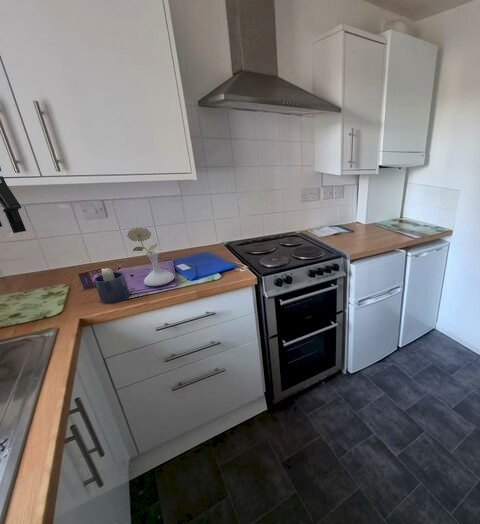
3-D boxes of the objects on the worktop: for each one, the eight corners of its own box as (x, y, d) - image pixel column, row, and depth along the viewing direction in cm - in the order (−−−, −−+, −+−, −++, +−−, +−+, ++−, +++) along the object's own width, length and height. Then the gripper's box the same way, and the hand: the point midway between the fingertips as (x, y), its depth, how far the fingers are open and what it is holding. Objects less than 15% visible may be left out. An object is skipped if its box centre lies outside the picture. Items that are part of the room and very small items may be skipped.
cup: (95, 303, 112) (87, 282, 109) (111, 292, 121) (104, 272, 117) (120, 303, 113) (113, 281, 109) (134, 291, 121) (128, 271, 118)
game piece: (105, 298, 114) (95, 271, 110) (112, 292, 118) (103, 266, 114) (117, 298, 115) (108, 271, 110) (125, 292, 119) (116, 266, 114)
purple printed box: (78, 273, 121) (105, 267, 127) (77, 274, 124) (104, 267, 130) (84, 289, 122) (111, 282, 128) (83, 289, 125) (110, 282, 131)
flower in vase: (178, 275, 135) (165, 222, 125) (170, 287, 125) (155, 229, 115) (146, 278, 132) (130, 223, 122) (135, 290, 122) (117, 231, 112)
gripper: (18, 158, 85) (46, 230, 93) (-26, 156, 93) (2, 222, 101) (-20, 159, 79) (13, 237, 86) (-64, 157, 87) (-30, 228, 95)
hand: (7, 229), depth 94 cm, fingers open, 13 cm apart
